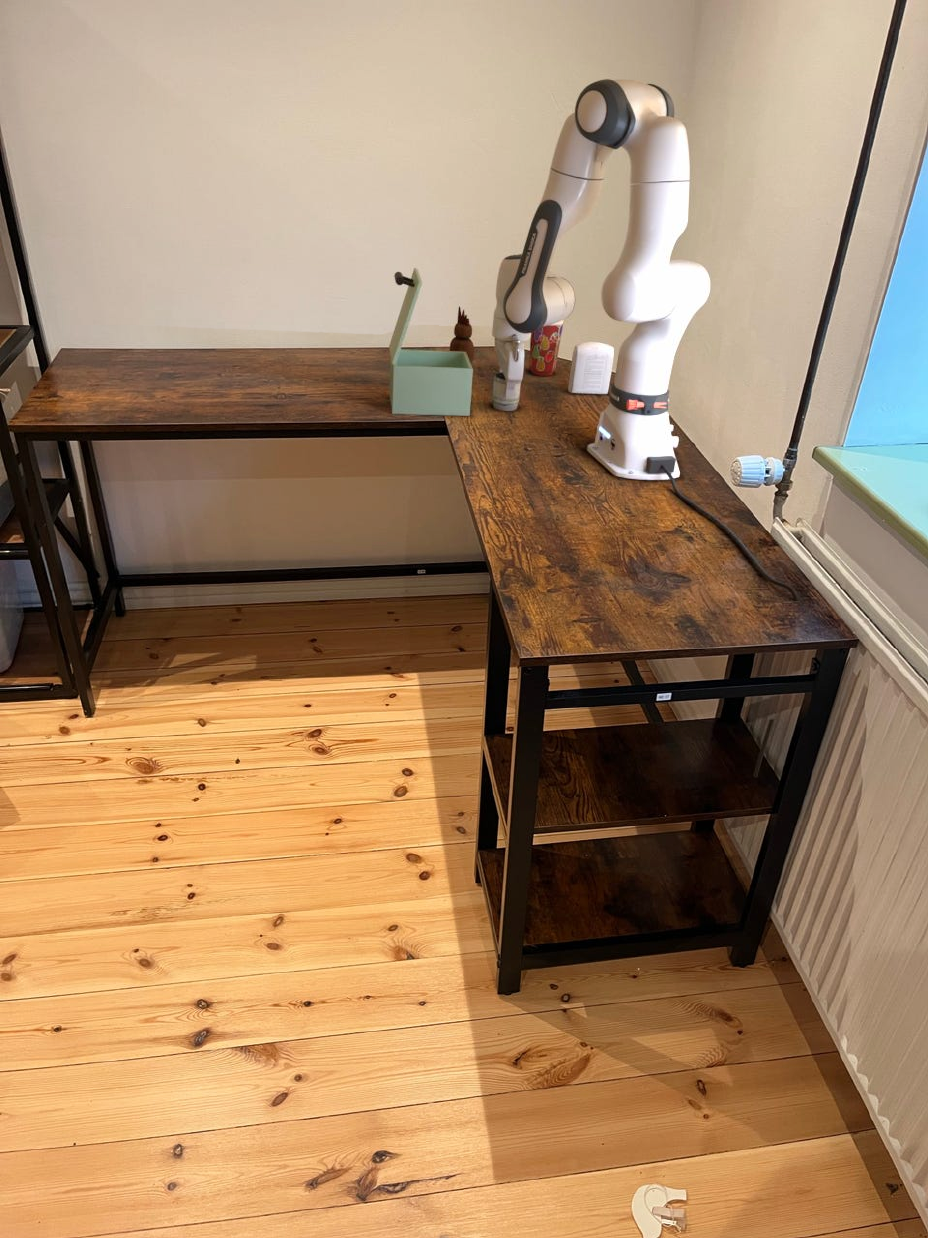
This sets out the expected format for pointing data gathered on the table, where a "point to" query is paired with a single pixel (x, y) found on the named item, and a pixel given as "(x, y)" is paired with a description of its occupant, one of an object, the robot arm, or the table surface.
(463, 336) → the wooden figurine
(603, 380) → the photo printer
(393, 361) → the lid
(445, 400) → the storage box
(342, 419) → the table surface
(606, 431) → the robot arm
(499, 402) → the camera lens
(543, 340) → the smoothie
